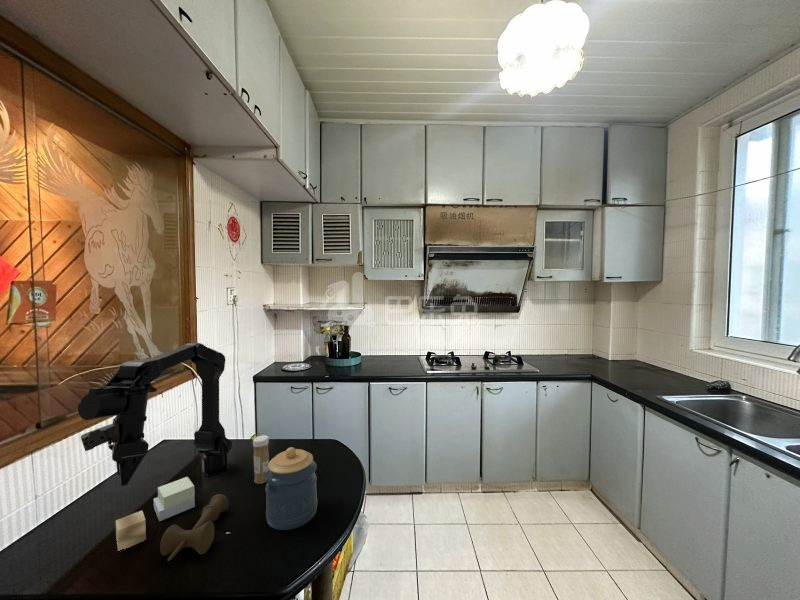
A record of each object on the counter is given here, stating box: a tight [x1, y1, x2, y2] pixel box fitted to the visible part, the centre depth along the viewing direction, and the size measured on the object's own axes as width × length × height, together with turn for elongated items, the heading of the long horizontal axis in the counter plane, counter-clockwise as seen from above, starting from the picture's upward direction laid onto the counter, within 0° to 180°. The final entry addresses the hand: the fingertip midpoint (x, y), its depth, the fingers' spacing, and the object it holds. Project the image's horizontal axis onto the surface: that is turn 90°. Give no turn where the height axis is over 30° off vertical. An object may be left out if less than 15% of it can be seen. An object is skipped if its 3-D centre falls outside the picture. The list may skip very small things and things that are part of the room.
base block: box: [153, 496, 196, 522], centre depth 89 cm, size 8×8×3 cm
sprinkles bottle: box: [252, 434, 270, 485], centre depth 101 cm, size 5×5×14 cm
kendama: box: [159, 493, 230, 562], centre depth 77 cm, size 6×10×20 cm
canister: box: [264, 446, 318, 531], centre depth 85 cm, size 13×13×18 cm
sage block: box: [157, 476, 196, 509], centre depth 89 cm, size 7×7×3 cm
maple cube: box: [115, 510, 147, 552], centre depth 77 cm, size 5×5×5 cm
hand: (122, 479), depth 78 cm, fingers open, 9 cm apart
